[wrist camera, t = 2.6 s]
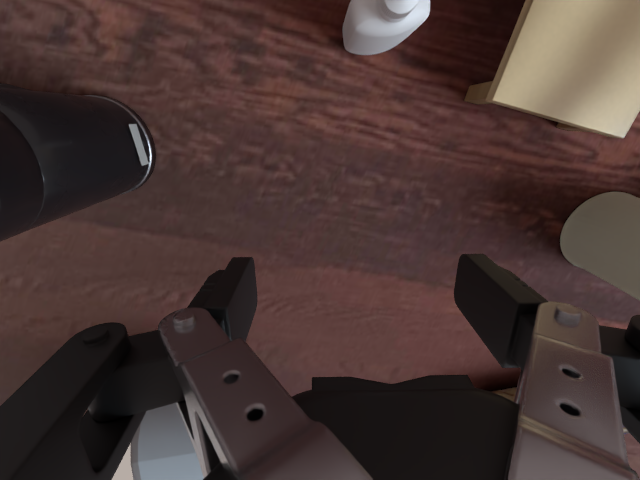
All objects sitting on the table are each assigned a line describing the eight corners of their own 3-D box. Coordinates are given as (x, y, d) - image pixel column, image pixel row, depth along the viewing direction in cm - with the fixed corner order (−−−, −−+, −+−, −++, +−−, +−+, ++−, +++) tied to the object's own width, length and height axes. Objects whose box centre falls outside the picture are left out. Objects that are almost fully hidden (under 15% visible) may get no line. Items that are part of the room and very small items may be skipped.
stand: (459, 103, 31) (492, 100, 25) (510, -32, 27) (562, -72, 21) (568, 134, 32) (624, 138, 26) (632, 9, 28) (713, -19, 23)
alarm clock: (262, 423, 46) (242, 538, 34) (206, 433, 47) (166, 549, 34) (231, 343, 41) (193, 443, 29) (169, 354, 42) (105, 458, 29)
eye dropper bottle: (353, -7, 28) (377, -90, 17) (411, 18, 28) (472, -45, 17) (335, 47, 29) (347, 5, 18) (391, 70, 30) (436, 43, 19)
